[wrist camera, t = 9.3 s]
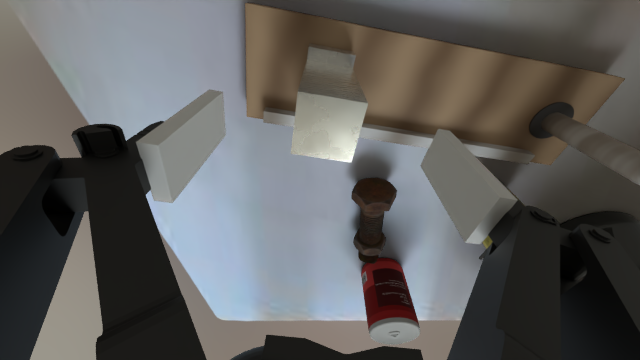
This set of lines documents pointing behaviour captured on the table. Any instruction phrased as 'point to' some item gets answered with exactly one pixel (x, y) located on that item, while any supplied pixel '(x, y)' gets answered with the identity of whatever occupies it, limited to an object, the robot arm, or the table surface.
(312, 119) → the block
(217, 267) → the table surface
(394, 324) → the canned food
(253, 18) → the board
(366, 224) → the bolt
